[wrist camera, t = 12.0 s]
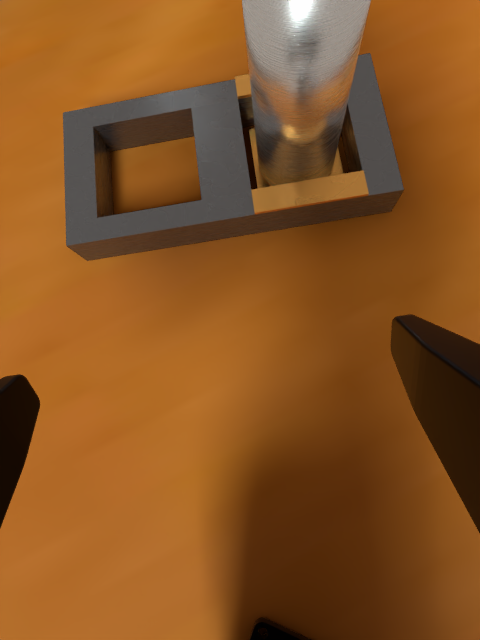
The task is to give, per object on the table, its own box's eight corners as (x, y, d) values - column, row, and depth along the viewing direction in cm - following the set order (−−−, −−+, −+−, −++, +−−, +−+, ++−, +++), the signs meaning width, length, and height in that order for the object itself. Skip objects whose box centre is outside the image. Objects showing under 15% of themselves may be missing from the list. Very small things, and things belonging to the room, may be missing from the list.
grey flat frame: (361, 85, 26) (370, 50, 23) (391, 211, 24) (405, 187, 21) (82, 138, 27) (61, 110, 25) (87, 260, 25) (64, 244, 22)
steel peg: (344, 135, 25) (401, -98, 13) (320, 201, 24) (356, 18, 12) (273, 116, 26) (266, -117, 14) (247, 180, 25) (217, -10, 13)
